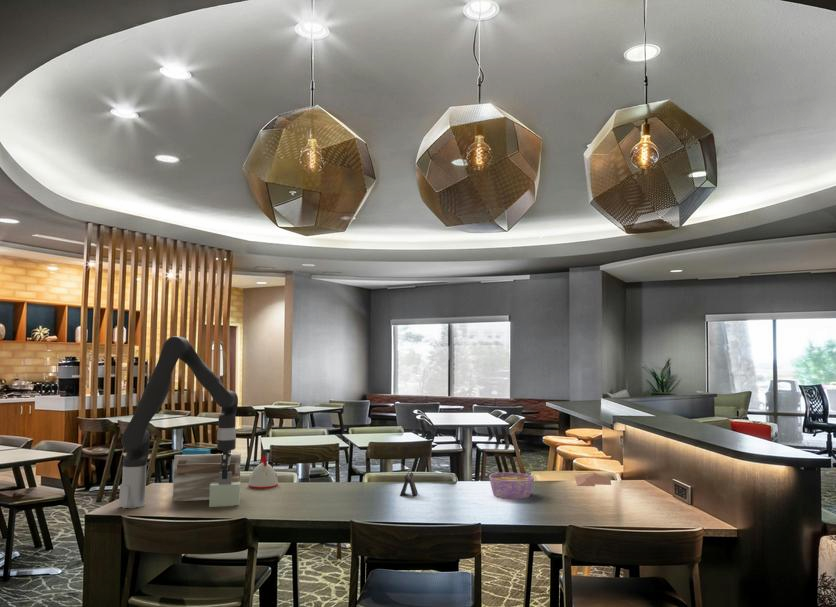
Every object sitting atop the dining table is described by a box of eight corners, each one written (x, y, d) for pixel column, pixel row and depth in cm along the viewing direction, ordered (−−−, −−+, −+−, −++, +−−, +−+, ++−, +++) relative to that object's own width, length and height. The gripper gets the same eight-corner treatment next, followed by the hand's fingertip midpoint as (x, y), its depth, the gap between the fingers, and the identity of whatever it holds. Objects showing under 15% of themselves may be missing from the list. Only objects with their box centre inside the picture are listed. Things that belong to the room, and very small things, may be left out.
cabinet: (238, 508, 270) (239, 472, 271) (209, 509, 267) (210, 473, 268) (240, 502, 280) (241, 467, 281) (212, 503, 278) (213, 468, 279)
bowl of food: (480, 500, 289) (480, 474, 290) (516, 496, 298) (516, 471, 299) (506, 510, 271) (506, 482, 272) (543, 505, 280) (543, 478, 281)
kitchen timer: (252, 491, 302) (253, 459, 303) (245, 485, 314) (246, 454, 315) (281, 488, 308) (282, 457, 309) (273, 483, 320) (274, 453, 322)
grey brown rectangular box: (238, 502, 279) (239, 456, 281) (170, 504, 274) (172, 457, 276) (240, 496, 292) (241, 451, 293) (175, 498, 287) (177, 452, 288)
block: (209, 492, 298) (211, 449, 300) (205, 495, 293) (206, 450, 295) (185, 491, 299) (186, 448, 301) (180, 494, 294) (181, 450, 296)
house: (616, 485, 327) (616, 469, 328) (621, 499, 295) (621, 482, 296) (570, 482, 332) (570, 466, 333) (570, 496, 300) (570, 479, 301)
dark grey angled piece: (397, 501, 285) (398, 474, 286) (400, 498, 291) (400, 471, 292) (417, 502, 283) (418, 475, 284) (419, 499, 289) (420, 472, 290)
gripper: (234, 440, 266) (233, 480, 265) (237, 435, 280) (236, 473, 279) (215, 440, 264) (214, 480, 263) (219, 436, 278) (218, 474, 277)
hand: (225, 476), depth 271 cm, fingers open, 8 cm apart
